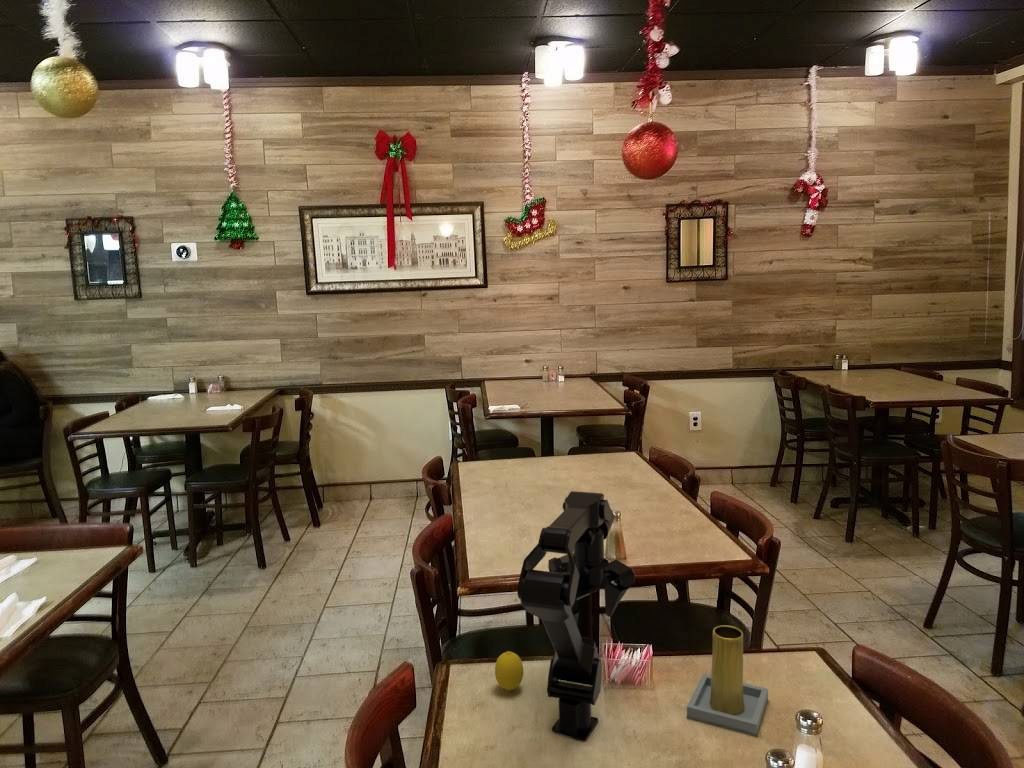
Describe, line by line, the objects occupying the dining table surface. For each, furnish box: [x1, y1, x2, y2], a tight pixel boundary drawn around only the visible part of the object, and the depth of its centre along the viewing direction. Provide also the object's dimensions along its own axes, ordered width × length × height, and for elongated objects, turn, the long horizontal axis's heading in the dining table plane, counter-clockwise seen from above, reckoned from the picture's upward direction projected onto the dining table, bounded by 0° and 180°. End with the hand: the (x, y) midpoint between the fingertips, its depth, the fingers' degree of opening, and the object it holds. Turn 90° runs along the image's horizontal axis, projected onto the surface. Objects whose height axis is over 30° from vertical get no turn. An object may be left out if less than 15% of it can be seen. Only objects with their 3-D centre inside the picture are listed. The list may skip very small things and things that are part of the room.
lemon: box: [494, 650, 524, 692], centre depth 135 cm, size 6×6×8 cm
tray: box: [686, 673, 769, 738], centre depth 127 cm, size 12×12×2 cm
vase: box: [710, 624, 745, 715], centre depth 127 cm, size 6×6×14 cm
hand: (590, 624), depth 136 cm, fingers open, 9 cm apart
